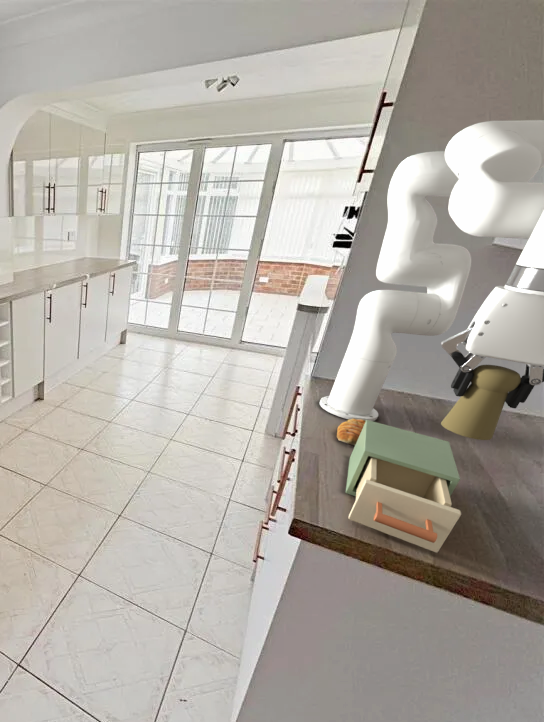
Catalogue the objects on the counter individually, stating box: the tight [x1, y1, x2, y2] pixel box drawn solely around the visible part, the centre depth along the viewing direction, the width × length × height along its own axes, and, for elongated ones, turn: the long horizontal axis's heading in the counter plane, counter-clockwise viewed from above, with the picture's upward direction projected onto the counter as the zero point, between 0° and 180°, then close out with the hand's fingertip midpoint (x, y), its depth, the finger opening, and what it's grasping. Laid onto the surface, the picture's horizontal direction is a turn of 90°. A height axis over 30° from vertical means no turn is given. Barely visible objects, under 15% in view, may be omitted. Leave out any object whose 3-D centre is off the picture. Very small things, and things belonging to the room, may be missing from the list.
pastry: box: [336, 419, 366, 447], centre depth 94 cm, size 9×7×4 cm
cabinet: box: [345, 420, 461, 497], centre depth 77 cm, size 15×13×10 cm
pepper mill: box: [440, 364, 522, 441], centre depth 64 cm, size 6×6×11 cm
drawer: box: [348, 456, 462, 554], centre depth 68 cm, size 18×11×8 cm, turn 142°
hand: (483, 398), depth 64 cm, fingers closed on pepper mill, 5 cm apart
